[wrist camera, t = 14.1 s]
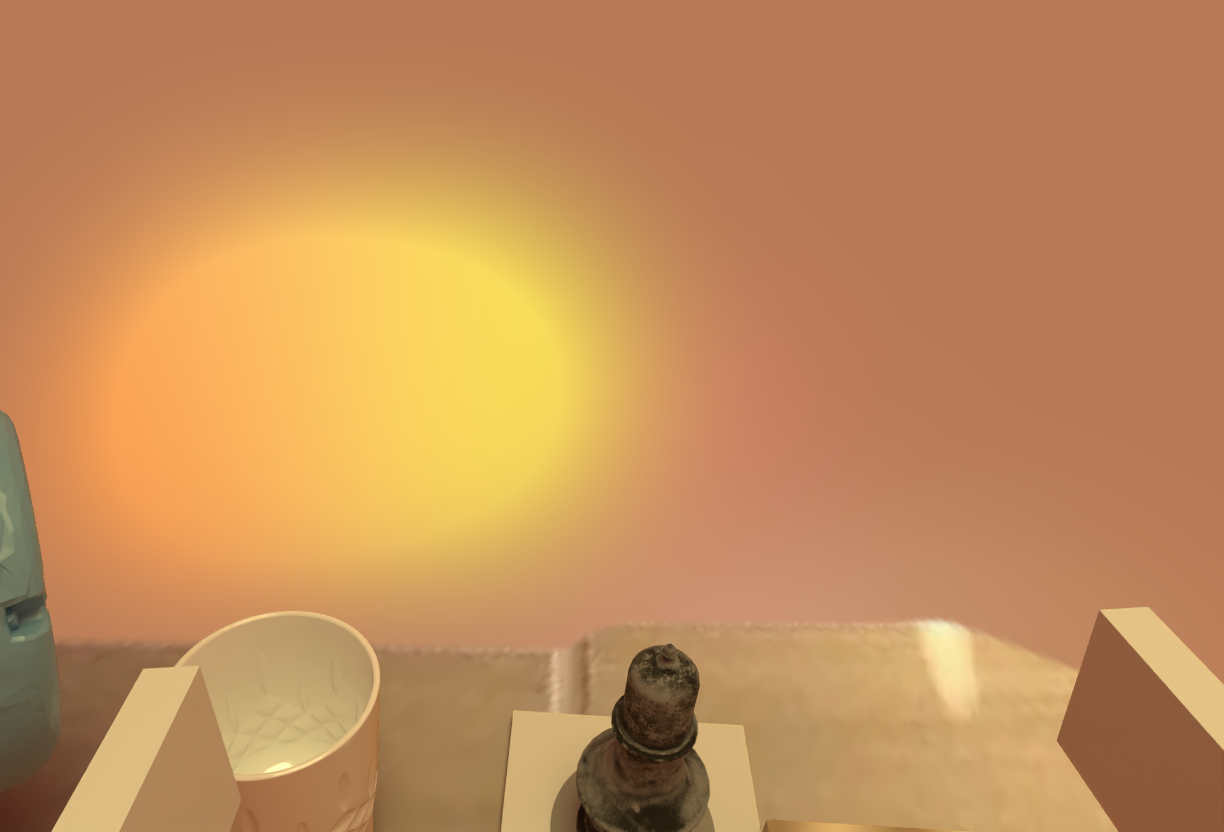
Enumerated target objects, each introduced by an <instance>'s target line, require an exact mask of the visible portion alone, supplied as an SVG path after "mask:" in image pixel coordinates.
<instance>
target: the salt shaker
mask: <svg viewBox="0 0 1224 832" xmlns="http://www.w3.org/2000/svg"><path fill="white" fill-rule="evenodd" d="M699 686H700V684H699V673H698V670H697V667H696V666H695V664H694V663H693V661H692V660H691V659H690V658H689V657H688V656H687V655H686V654H685V653H683V652H682V651H680V650H678V649H676V648H675V647H674V646H673V645H672V644H667V645H665V646H664V645H658V646H652V647H649V648H646V649H644V650H642V651H641V652H639V653H638V654H637V655H636V656H635V657H634V659H633V661H632V662H631V665H630V667H629V671H628V677H627V682H626V688H625V694H624V695H623V696H622V697H621V698H620V699H619V700H618V701H617V703H616V704H615V706H614V709H613V711H612V719H611V724H612V728H609V729H607V730H605V731H603V732H602V733H600V734H599V735H598V736H596V737H595V738H593V739H592V741H591V742H590V743H589V744H588V745H587V747H586V748H585V749H584V750H583V753H582V755H581V757H580V760H579V762H578V765H577V774H576V785H577V791H578V796H579V799H580V801H581V805H580V807H579V810H578V813H577V822H576V830H577V832H691V831H692V830H693V829H694V828H695V827H696V826H697V825H698V824H699V822H700V820H701V819H702V817H703V816H704V814H705V812H706V809H707V805H708V801H709V797H710V785H709V777H708V774H707V771H706V768H705V765H704V763H703V762H702V760H701V759H700V757H699V755H698V754H697V752H696V751H695V750H694V749H693V748H692V747H693V746H694V744H695V742H696V739H697V735H698V723H697V720H696V717H695V714H694V713H693V712H694V707H695V703H696V699H697V695H698V691H699Z"/></svg>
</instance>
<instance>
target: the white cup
mask: <svg viewBox="0 0 1224 832" xmlns="http://www.w3.org/2000/svg"><path fill="white" fill-rule="evenodd" d="M184 666H200V668H201V671H202V674H203V677H204V680H205V684H206V687H207V690H208V693H209V697H210V700H211V703H212V706H213V709H214V713H215V716H216V719H217V722H218V726H219V729H220V732H221V735H222V738H223V742H224V745H225V748H226V751H227V755H228V758H229V761H230V764H231V767H232V771H233V774H234V777H235V780H236V784H237V787H238V790H239V793H240V796H241V802H240V804H239V807H238V810H237V813H236V816H235V818H234V821H233V824H232V827H231V830H230V832H373V804H374V799H375V793H376V788H377V770H378V754H379V705H380V669H379V663H378V660H377V657H376V654H375V652H374V650H373V648H372V647H371V645H370V644H369V642H368V641H367V640H366V639H365V637H364V636H362V635H361V633H359V632H358V631H357V630H356V629H354V628H353V627H352V626H350V625H348V624H346V623H345V622H343V621H341V620H338V619H336V618H333V617H330V616H327V615H324V614H319V613H313V612H306V611H280V612H271V613H266V614H261V615H256V616H252V617H249V618H246V619H243V620H240V621H237V622H234V623H232V624H230V625H227V626H225V627H223V628H221V629H220V630H217V631H216V632H214V633H212V634H210V635H209V636H207V637H206V638H204V639H203V640H201V641H200V642H199V643H197V644H196V645H195V646H194V647H192V648H191V649H190V650H189V651H188V652H187V653H186V654H185V655H184V656H183V657H182V658H181V659H180V660H179V661H178V662H177V663H176V665H175V666H174V667H184Z"/></svg>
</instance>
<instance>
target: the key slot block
mask: <svg viewBox="0 0 1224 832" xmlns="http://www.w3.org/2000/svg"><path fill="white" fill-rule="evenodd" d="M762 832H969V831H952V830H935V829H918V828H901V827H884V826H867V825H849V824H832V823H815V822H798V821H781V820H766V823H765V826H764V828H763V831H762Z"/></svg>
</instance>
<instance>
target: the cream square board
mask: <svg viewBox="0 0 1224 832" xmlns="http://www.w3.org/2000/svg"><path fill="white" fill-rule="evenodd" d="M611 719H612V717H605V716H590V715H575V714H560V713H544V712H529V711H513V720H512V730H511V739H510V749H509V758H508V768H507V777H506V787H505V796H504V806H503V816H502V825H501V832H577V830H576V822H577V813H578V810H579V807H580V805H581V801H580V799H579V796H578V791H577V785H576V774H577V765H578V762H579V760H580V757H581V755H582V753H583V750H584V749H585V748H586V747H587V745H588V744H589V743H590V742H591V741H592V739H593V738H595V737H596V736H598V735H599V734H600V733H602V732H603V731H605V730H607V729H609V728H612V724H611ZM692 748H693V749H694V750H695V751H696V752H697V754H698V755H699V757H700V759H701V760H702V762H703V763H704V765H705V768H706V771H707V774H708V777H709V785H710V797H709V801H708V805H707V809H706V812H705V814H704V816H703V817H702V819H701V820H700V822H699V824H698V825H697V826H696V827H695V828H694V829H693V830H692V831H691V832H761V830H760V824H759V818H758V812H757V806H756V800H755V794H754V788H753V782H752V776H751V770H750V764H749V758H748V752H747V746H746V740H745V734H744V728H743V726H741V725H725V724H710V723H698V735H697V739H696V742H695V744H694V746H693V747H692Z"/></svg>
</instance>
